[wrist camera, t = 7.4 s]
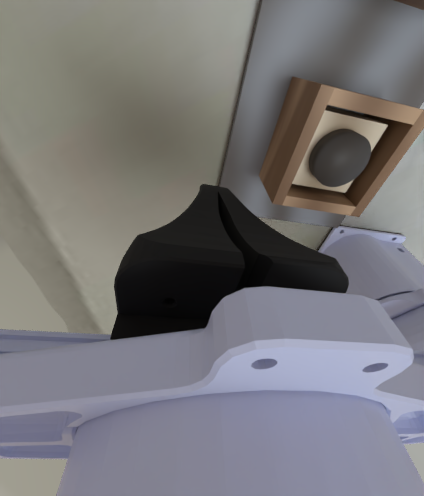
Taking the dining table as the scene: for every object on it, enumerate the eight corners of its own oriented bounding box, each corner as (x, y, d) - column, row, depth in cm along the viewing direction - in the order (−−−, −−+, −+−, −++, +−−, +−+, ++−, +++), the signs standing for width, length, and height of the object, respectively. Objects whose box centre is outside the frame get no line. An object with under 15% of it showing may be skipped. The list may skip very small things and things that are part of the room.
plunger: (359, 113, 18) (400, 129, 14) (326, 174, 21) (353, 200, 17) (301, 99, 17) (328, 113, 13) (276, 165, 20) (292, 190, 16)
